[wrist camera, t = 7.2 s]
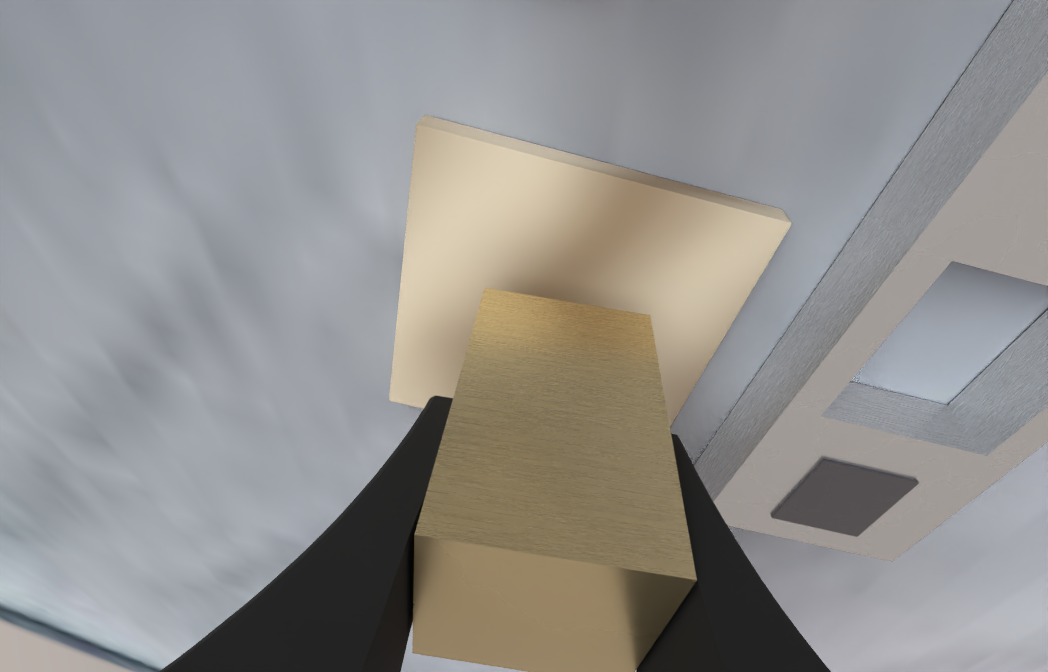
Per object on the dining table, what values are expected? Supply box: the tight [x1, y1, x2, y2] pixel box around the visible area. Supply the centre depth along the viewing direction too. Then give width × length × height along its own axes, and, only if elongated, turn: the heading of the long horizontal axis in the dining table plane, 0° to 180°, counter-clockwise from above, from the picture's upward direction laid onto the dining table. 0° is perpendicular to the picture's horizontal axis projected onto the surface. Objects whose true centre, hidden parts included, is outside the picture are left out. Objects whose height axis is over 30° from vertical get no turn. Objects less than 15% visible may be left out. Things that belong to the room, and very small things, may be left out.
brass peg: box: [412, 288, 697, 672], centre depth 11 cm, size 4×4×6 cm
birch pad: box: [389, 115, 792, 426], centre depth 15 cm, size 9×9×1 cm
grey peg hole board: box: [694, 0, 1048, 562], centre depth 13 cm, size 7×18×2 cm, turn 167°
